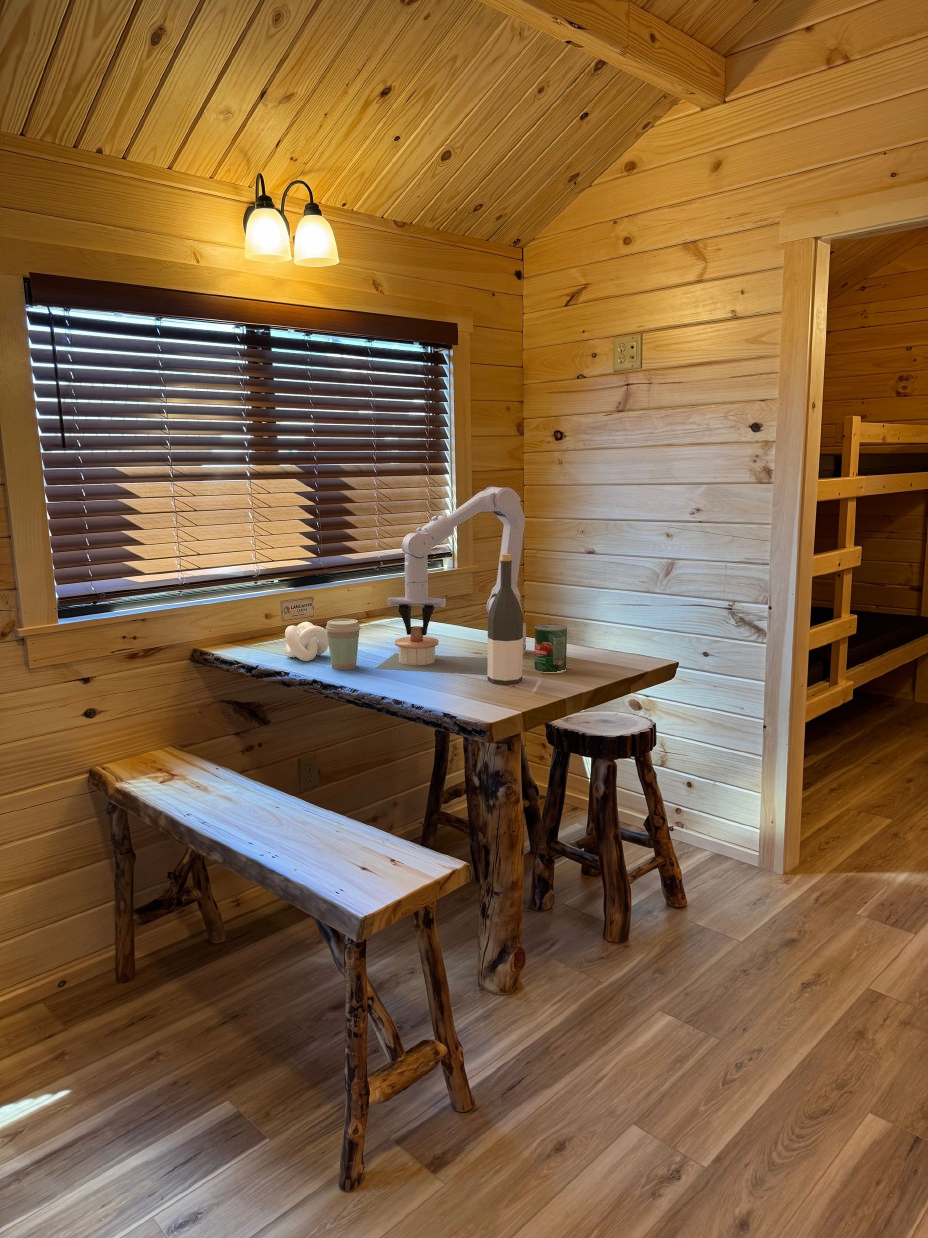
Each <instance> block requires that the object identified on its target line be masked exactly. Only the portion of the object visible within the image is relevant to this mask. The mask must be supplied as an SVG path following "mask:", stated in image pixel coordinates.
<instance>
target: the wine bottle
mask: <svg viewBox="0 0 928 1238" xmlns="http://www.w3.org/2000/svg"><path fill="white" fill-rule="evenodd" d="M500 563H501V585H500V589H499V591H498V593H497V595H496V597H495V598H494V600H493V603H492V605H491V608H490V611H489V613H488V617H487V653H488V655H487V658H488V674H487V682H489V683H491V684H493V685H500V686H509V685H510V686H511V685H518V684H520V682H521V683H522V681H523V657H524V655H523V623H524V617H523V610H522V611H521V607H520V605H519V602H518V600H517V598H516V596H515V594H514V592H513V590H512V588H511V565H512V561H511V554H502V560H501V561H500Z"/></svg>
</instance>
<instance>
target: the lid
mask: <svg viewBox="0 0 928 1238" xmlns="http://www.w3.org/2000/svg"><path fill="white" fill-rule="evenodd" d="M394 645H395V646H396V647H398V648H399V647H402V648H410V649H422V648H430V647H435V648H436V647H437V646H438V645H439V639H438V638H436V637H432V636H424V635H423V625H422V626H420V625H411V627H410V635H409V636H405V637H399V638H396V639H395V641H394Z"/></svg>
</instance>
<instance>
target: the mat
mask: <svg viewBox="0 0 928 1238" xmlns="http://www.w3.org/2000/svg"><path fill="white" fill-rule="evenodd" d="M375 670H390V671H392V670H393V671H406V672H407V671H408V672H426V673H440V674H441V673H443V674H444V673H445V674H461V675H479V676H488V657H478V656H477V657H475V656H474V657H473V656H472V657H471V656H454V655H438V654H437V655H436V654H435V662H433V663H431V664H427V665H406V664H402V663H400V662H399V652H398V653H397V652H395V653H394V654H392V655H390V656H389V657H388V658H387V659H385V660H384V661H383V662H381V663H380V664H378V665H377V666H376V667H375Z"/></svg>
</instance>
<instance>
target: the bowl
mask: <svg viewBox="0 0 928 1238" xmlns="http://www.w3.org/2000/svg"><path fill="white" fill-rule="evenodd" d="M398 653H399V662H400V663H402V664H406V665H427V664H431V663H433V662H435V655H436V646H435V647H430V648H422V649H410V648H402V647H398Z"/></svg>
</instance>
